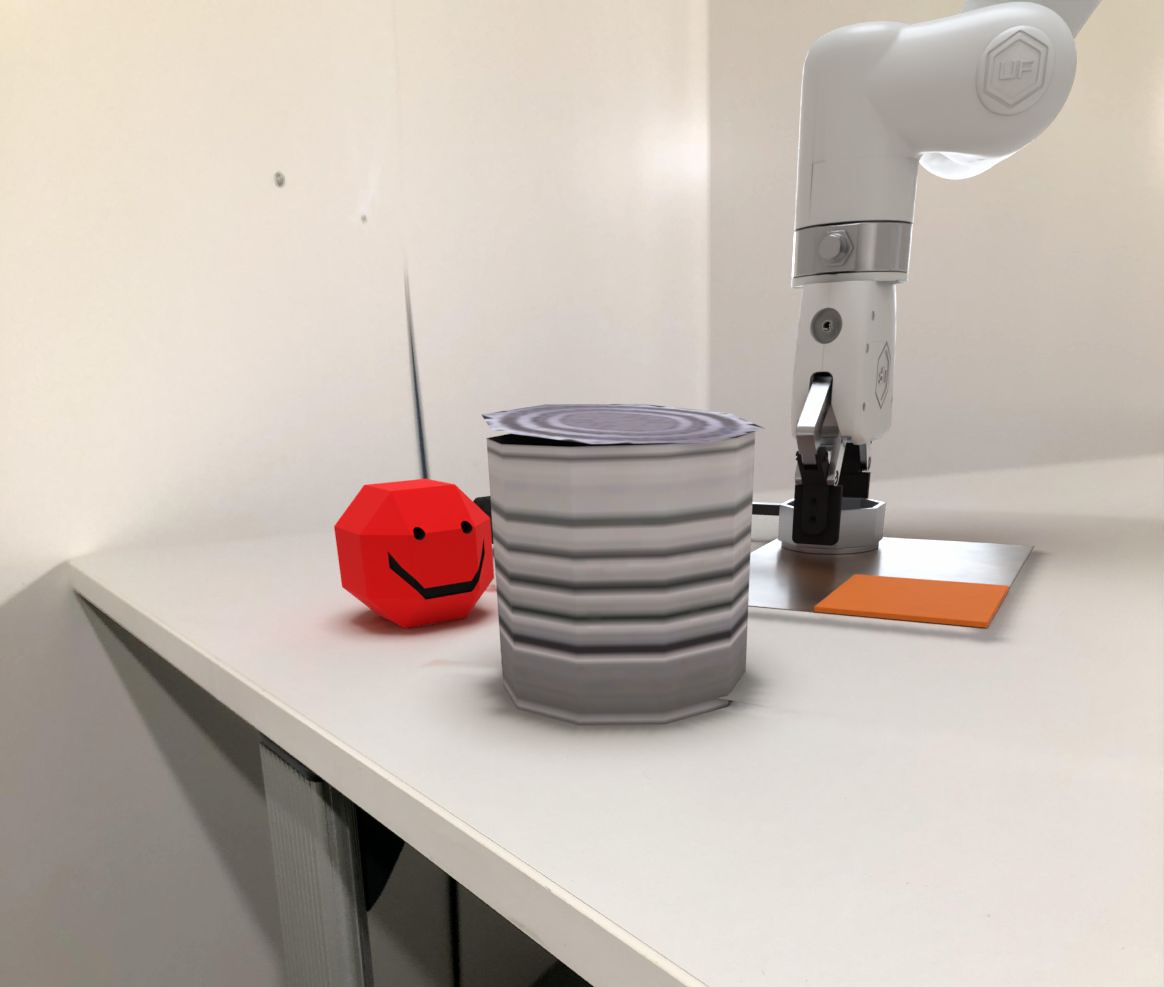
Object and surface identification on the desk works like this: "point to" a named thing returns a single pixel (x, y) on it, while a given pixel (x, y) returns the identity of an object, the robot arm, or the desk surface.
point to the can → (621, 559)
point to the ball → (415, 551)
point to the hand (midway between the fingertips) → (830, 532)
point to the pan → (856, 525)
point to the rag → (916, 600)
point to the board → (875, 569)
